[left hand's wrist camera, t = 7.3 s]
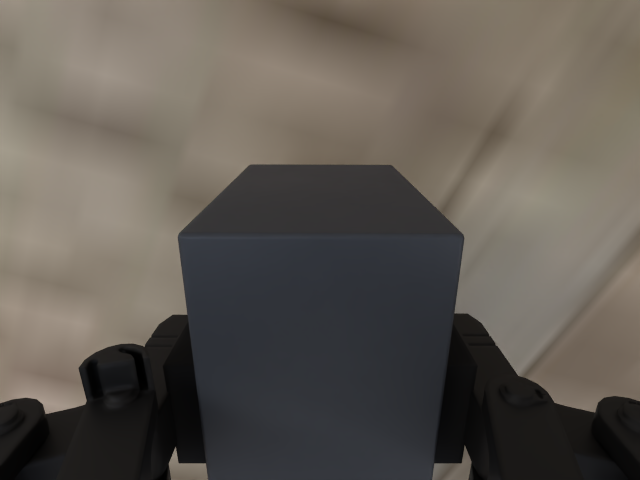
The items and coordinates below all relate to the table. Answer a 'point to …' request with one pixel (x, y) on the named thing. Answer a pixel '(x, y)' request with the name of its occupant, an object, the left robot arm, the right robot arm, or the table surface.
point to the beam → (320, 323)
